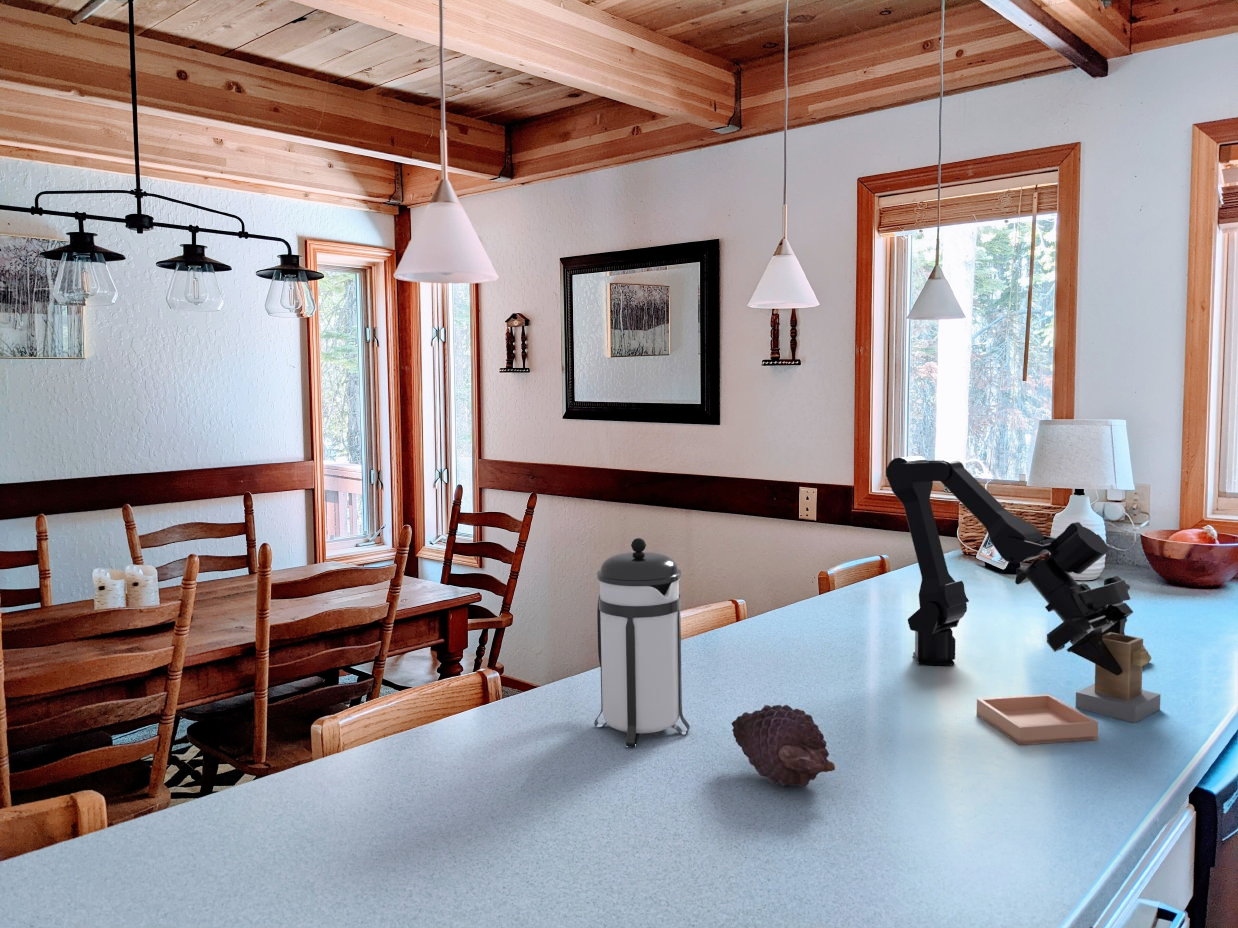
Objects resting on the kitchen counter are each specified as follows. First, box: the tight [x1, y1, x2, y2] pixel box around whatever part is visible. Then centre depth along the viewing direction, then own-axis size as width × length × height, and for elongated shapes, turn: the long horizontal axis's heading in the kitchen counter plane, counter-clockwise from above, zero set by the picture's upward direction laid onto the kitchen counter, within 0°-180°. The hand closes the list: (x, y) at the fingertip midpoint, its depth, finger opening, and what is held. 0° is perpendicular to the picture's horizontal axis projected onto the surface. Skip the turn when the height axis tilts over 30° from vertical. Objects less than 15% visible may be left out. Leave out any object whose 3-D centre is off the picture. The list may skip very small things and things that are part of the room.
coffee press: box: [593, 537, 691, 748], centre depth 137 cm, size 17×16×30 cm
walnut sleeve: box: [1094, 632, 1149, 701], centre depth 142 cm, size 6×5×9 cm
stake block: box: [1075, 683, 1161, 724], centre depth 142 cm, size 9×9×7 cm
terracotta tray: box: [976, 693, 1099, 746], centre depth 136 cm, size 12×12×3 cm
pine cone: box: [731, 704, 836, 787], centre depth 119 cm, size 18×10×10 cm, turn 34°
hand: (1127, 670), depth 141 cm, fingers closed on walnut sleeve, 5 cm apart
